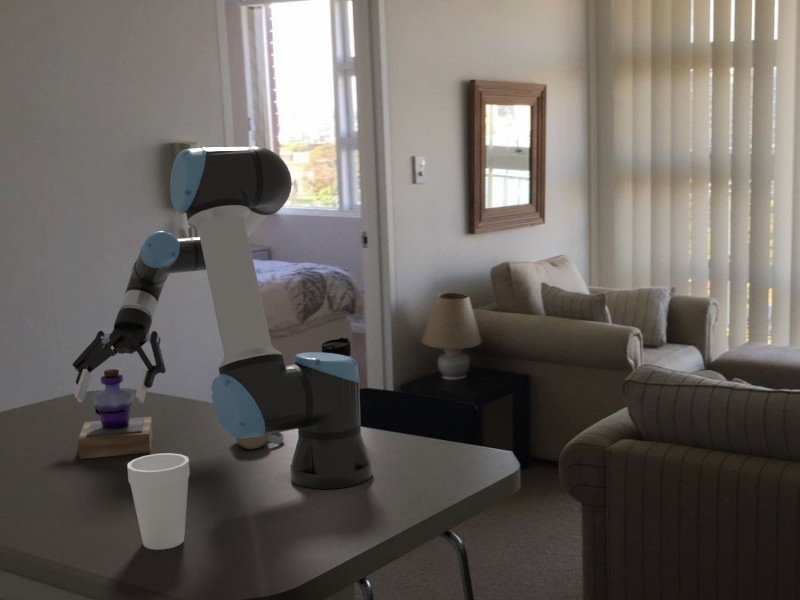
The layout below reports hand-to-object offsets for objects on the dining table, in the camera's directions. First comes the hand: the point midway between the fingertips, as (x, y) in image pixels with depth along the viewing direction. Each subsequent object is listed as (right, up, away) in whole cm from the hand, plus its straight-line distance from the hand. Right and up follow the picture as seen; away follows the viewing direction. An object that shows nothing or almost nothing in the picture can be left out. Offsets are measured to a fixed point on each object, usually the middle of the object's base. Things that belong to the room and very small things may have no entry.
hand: (108, 399), depth 207 cm
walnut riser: (+1, -10, +4) cm, 11 cm away
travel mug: (+47, -8, +10) cm, 49 cm away
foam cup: (+23, -18, -49) cm, 57 cm away
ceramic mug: (+31, -10, +2) cm, 32 cm away
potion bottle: (+1, -6, +3) cm, 7 cm away
